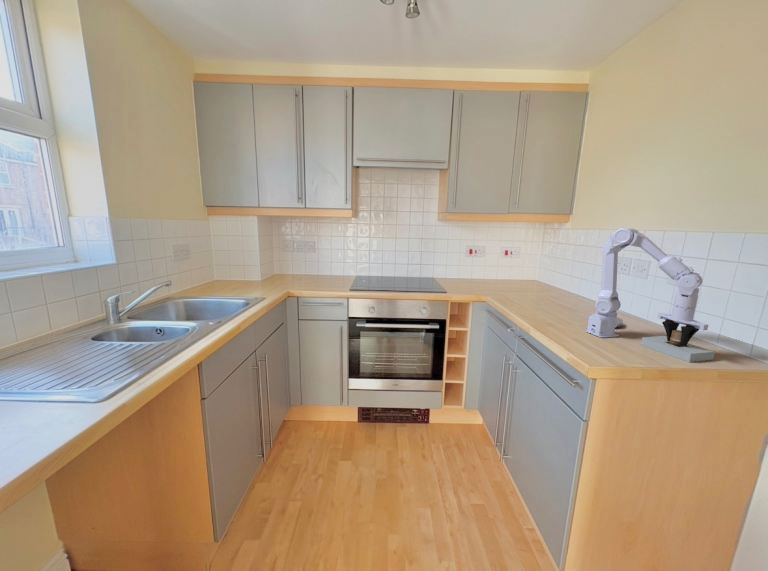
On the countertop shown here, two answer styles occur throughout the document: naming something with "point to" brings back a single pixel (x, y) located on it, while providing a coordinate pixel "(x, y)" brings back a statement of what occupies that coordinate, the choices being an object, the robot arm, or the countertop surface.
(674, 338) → the walnut peg
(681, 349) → the grey board
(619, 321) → the stone block
